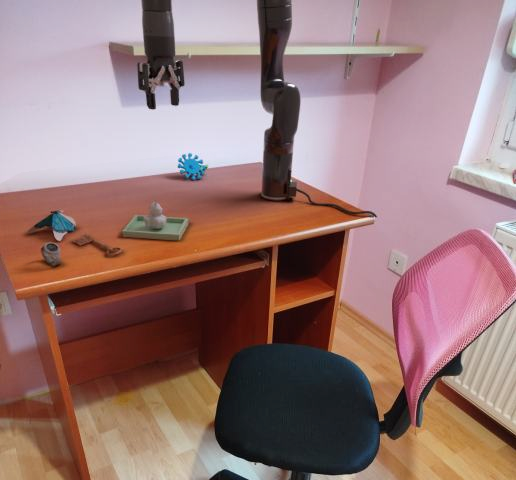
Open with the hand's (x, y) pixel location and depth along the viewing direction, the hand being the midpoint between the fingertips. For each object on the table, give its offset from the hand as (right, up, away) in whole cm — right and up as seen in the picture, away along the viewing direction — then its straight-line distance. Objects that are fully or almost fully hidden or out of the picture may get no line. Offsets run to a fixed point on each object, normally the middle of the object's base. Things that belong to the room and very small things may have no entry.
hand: (163, 107), depth 126 cm
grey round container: (-23, -43, -14) cm, 51 cm away
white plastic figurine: (-3, -31, +4) cm, 31 cm away
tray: (-3, -31, +4) cm, 32 cm away
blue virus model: (+2, -3, +45) cm, 45 cm away
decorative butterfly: (-29, -33, +1) cm, 43 cm away
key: (-15, -38, -6) cm, 41 cm away
